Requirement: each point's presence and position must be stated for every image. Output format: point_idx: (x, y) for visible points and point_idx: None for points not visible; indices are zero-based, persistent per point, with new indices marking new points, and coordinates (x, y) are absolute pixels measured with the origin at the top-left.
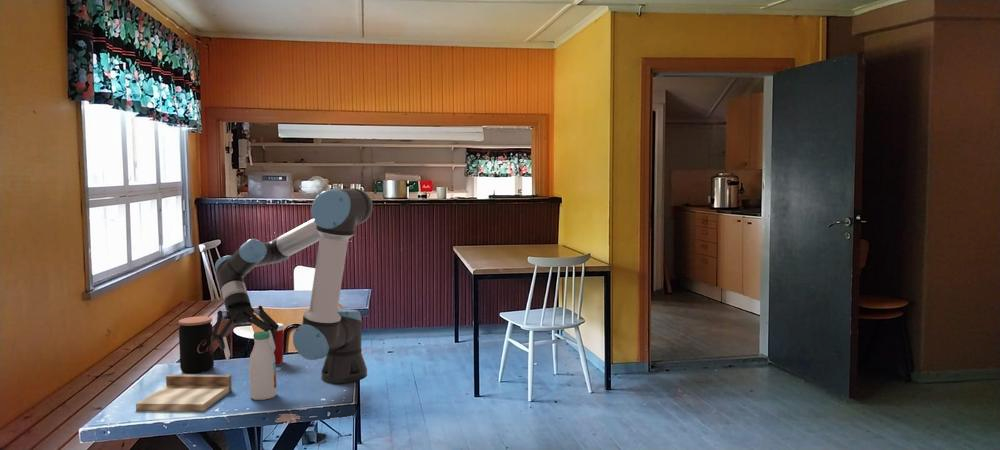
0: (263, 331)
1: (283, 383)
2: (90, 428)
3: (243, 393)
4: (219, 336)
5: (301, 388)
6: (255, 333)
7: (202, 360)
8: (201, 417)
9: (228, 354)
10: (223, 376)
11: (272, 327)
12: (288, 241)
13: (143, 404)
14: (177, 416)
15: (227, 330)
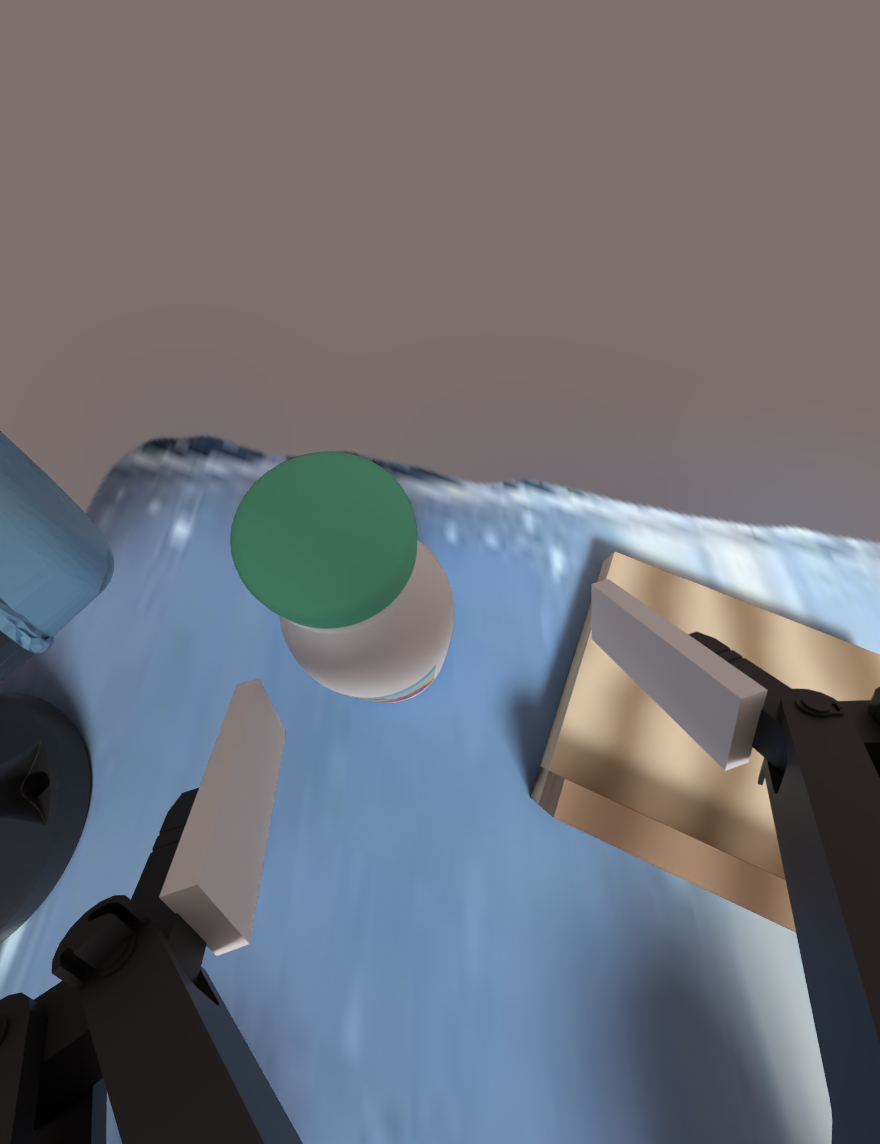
0: (287, 591)
1: (284, 821)
2: None
3: (474, 724)
4: (819, 695)
5: (222, 698)
6: (392, 522)
7: None
8: (596, 503)
9: (605, 581)
10: (593, 799)
11: (94, 922)
12: None
13: (855, 646)
14: (679, 541)
15: (807, 859)
